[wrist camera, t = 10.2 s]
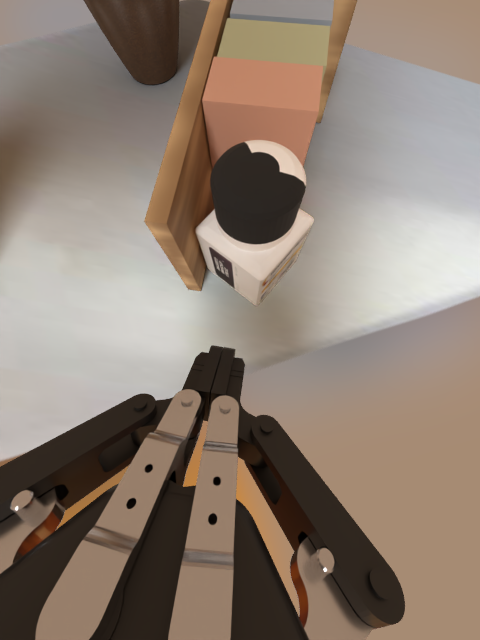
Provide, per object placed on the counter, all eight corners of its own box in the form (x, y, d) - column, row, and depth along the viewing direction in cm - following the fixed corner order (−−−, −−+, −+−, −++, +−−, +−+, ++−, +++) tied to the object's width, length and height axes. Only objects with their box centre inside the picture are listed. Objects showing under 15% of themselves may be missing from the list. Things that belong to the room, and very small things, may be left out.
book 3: (218, 211, 29) (202, 100, 17) (225, 179, 30) (213, 56, 18) (288, 219, 28) (318, 111, 17) (291, 187, 30) (323, 66, 18)
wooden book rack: (188, 289, 26) (144, 221, 15) (230, 103, 33) (223, -42, 22) (302, 305, 26) (352, 247, 14) (321, 112, 33) (364, -34, 21)
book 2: (227, 180, 30) (216, 56, 18) (233, 151, 31) (227, 18, 20) (294, 187, 30) (326, 66, 18) (297, 158, 31) (330, 26, 19)
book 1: (235, 147, 31) (229, 13, 20) (240, 120, 33) (238, -21, 21) (299, 154, 31) (332, 20, 19) (302, 126, 32) (335, -15, 20)
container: (256, 308, 26) (269, 243, 13) (206, 269, 27) (174, 176, 14) (296, 260, 27) (342, 160, 14) (247, 226, 28) (249, 106, 16)
